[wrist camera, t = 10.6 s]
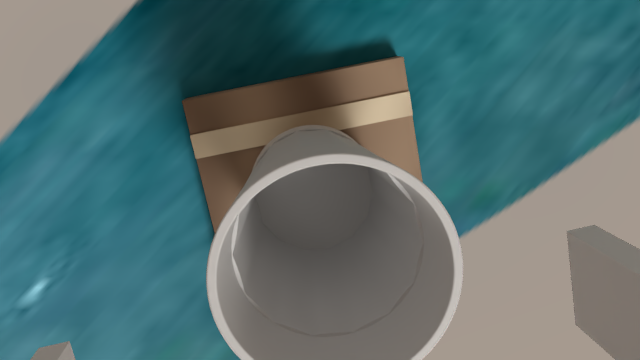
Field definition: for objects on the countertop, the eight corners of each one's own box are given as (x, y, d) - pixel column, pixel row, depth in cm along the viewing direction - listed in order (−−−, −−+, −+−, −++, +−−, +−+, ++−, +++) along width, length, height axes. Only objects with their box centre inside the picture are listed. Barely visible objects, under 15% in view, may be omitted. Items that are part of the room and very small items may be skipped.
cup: (319, 289, 31) (346, 438, 19) (200, 195, 29) (151, 296, 18) (422, 178, 30) (515, 265, 18) (305, 74, 28) (326, 97, 17)
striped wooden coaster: (234, 293, 33) (232, 306, 31) (186, 98, 30) (181, 101, 28) (427, 253, 33) (435, 264, 31) (397, 56, 30) (403, 56, 29)
